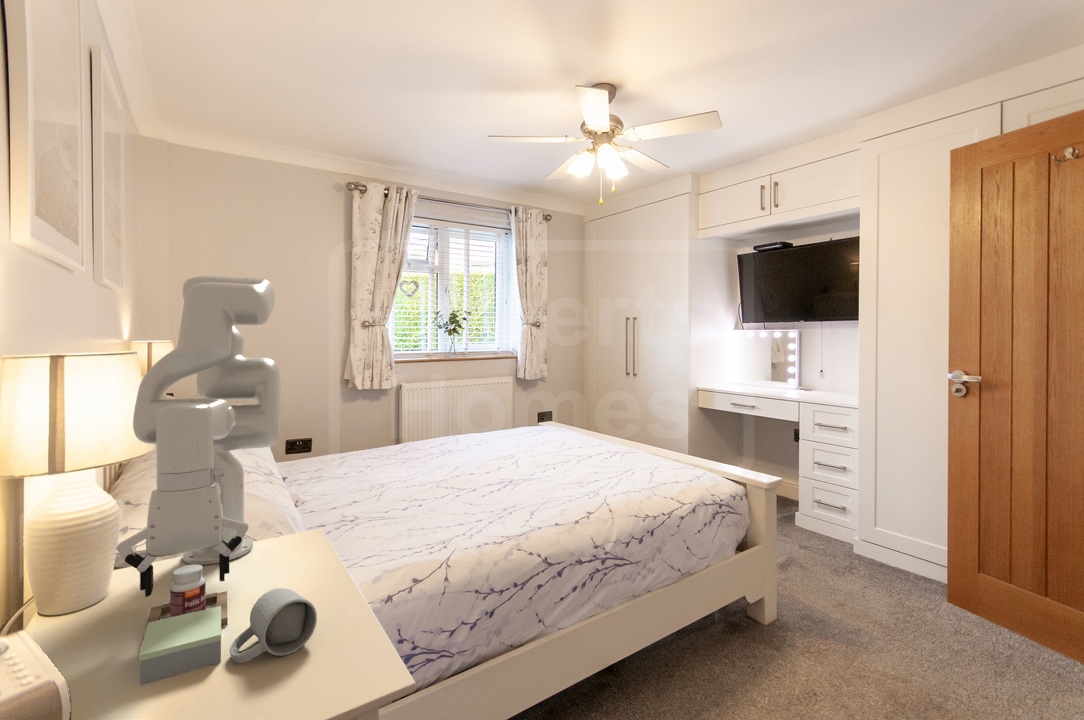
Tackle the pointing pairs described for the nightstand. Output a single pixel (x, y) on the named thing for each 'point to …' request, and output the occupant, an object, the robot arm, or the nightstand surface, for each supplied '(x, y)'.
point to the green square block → (180, 644)
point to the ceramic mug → (277, 625)
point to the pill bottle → (187, 590)
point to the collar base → (210, 599)
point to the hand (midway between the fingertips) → (186, 585)
